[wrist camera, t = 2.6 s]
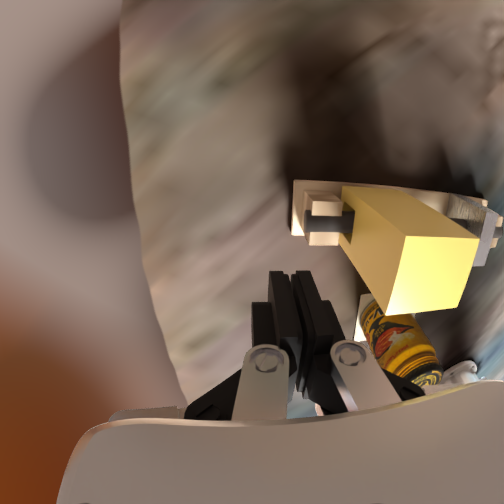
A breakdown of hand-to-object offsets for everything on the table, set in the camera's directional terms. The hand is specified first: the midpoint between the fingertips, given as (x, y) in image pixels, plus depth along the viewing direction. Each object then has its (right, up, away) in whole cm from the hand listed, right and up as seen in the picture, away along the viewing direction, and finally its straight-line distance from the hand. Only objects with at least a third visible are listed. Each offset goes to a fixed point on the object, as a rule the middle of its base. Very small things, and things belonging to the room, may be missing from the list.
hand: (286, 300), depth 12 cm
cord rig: (+14, +6, +14) cm, 21 cm away
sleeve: (+9, +5, +12) cm, 16 cm away
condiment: (+15, -5, +20) cm, 26 cm away
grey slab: (+20, +6, +14) cm, 25 cm away
